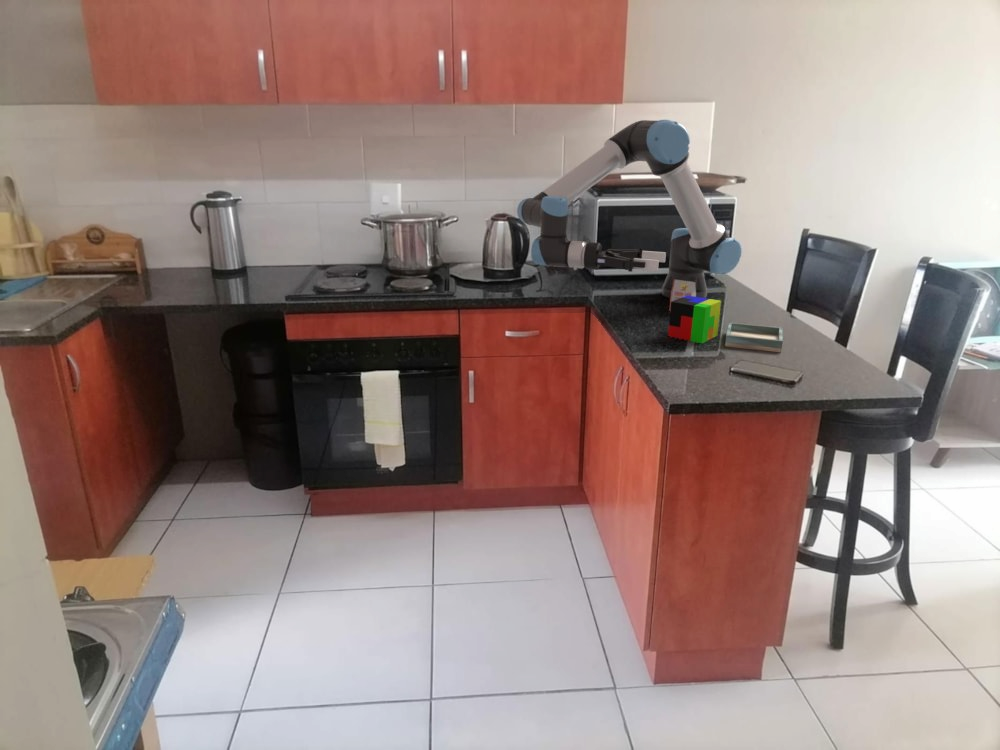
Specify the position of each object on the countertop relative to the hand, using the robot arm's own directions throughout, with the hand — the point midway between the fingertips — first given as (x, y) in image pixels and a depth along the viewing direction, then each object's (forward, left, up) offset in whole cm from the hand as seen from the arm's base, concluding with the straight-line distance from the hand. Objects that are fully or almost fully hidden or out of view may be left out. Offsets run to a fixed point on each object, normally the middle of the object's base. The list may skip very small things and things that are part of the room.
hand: (662, 261), depth 192 cm
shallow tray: (0, +26, -20) cm, 33 cm away
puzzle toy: (0, +10, -20) cm, 23 cm away
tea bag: (-26, +4, -20) cm, 34 cm away
